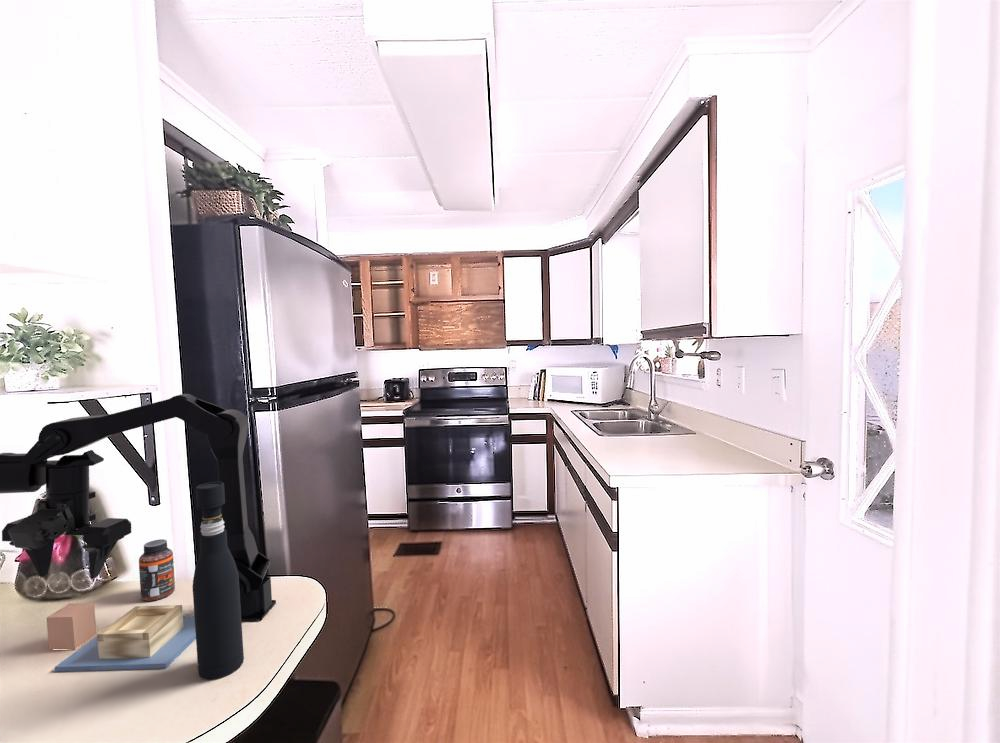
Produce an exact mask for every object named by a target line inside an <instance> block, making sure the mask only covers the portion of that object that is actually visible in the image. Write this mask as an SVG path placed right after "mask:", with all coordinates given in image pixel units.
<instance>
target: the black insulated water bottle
mask: <svg viewBox="0 0 1000 743" xmlns="http://www.w3.org/2000/svg"><path fill="white" fill-rule="evenodd" d="M195 498H196V508H197V509H199V510H202V512H201V513H202V517H201V519H202V520H203V521H201V523H200V527H199V529H200V534H199V536H198V537H199V556H198V558H197V561H196V565H195V568H194V573H193V577H192V578H193V579H192V587H191V588H192V599H193V614H194V615H193V616H194V617H195V631H196V639H195V643H196V655H197V656H196V657H197V658H196V660H197V671H198V677H199V678H201V679H202V680H206V681H212V680H213V681H214V680H217V679H221V678H224V677H226V676H229V675H231V674H233V673H234V672H236V671H237V670H238V669H239V668H240V667H241V666H242V665H243V663H244V661H245V660H244V659H245V657H244V656H245V655H244V640H243V623H242V622H243V621H241V605H240V589H239V574H238V571H237V567H236V564H235V561H234V559H233V556H232V554H231V552H230V550H229V548H228V546H227V531H226V530H225V529H224V527H225V526H224V525H223V524H224V521H223V518H222V514H221V505H223V504H225V493H224V483H223V482H219V481H212V482H211V481H210V482H205V483H201V484H198V485H197V486H196V487H195Z"/></svg>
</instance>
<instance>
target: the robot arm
mask: <svg viewBox="0 0 1000 743" xmlns="http://www.w3.org/2000/svg"><path fill="white" fill-rule="evenodd" d="M175 418H177V419H179V420H181V421H184V422H185V423H186V424H187V425H189V426H191V427H192V428H194V429H195V430H198V431H199V432H202V433H203V434H205V435H206V439H207V442H208V445H209V448H210V451H211V453H212V454H213V456H214V458H215V460H216V463H217V472H218V473H217V475H218V482H223V483H224V493H225V504H223V505H221V506H220V508H221V518H223V521H224V524H223V525H224V526H225V527H224V529H225V530H226V531H227V546H228V548H229V550H230V552H231V554H232V556H233V559H234V561H235V564H236V567H237V571H238V574H239V589H240V605H241V621H242V622H243V621H244V622H247V621H248V622H250V621H251V622H253V621H261V620H263V619H264V618H265V617H266V616H267V614H268V613H269V612H270V610H272V608H273V607H274V606H275V605H276V603H277V600H276V599H273V596H272V579H271V576H267V575H266V574H267V572H268V571H269V568H270V564H271V559H270V558H269V557H267V556H265V555H264V554H263V553H261V552H259V550H258V545H257V542H256V538H255V536H254V534H253V532H252V530H251V529H250V527H249V522H248V510H247V498H246V497H247V496H246V486H245V485H246V484H245V473H244V460H243V456H244V451H245V447H246V446H245V445H246V443H247V442H246V441H247V435H248V428H249V427H248V426H249V420H248V417H247V416H246V414H244V413H243V412H242V411H240V410H238V409H232V408H231V409H226V408H224V407H221V406H220V405H216V404H214V403H211V402H208V401H205V400H203V399H200V398H198V397H196V396H194V395H193V394H189V393H181V394H177V395H174V396H171V397H170V398H168V399H164V400H160V401H155V402H152V403H149V404H145V405H141V406H137V407H134V408H133V407H132V408H129V409H125V410H123V411H118V412H114V413H110V414H98V415H85V416H78V417H71V418H68V419H63V420H59V421H53V422H50V423H48V424H45V426H43V427H42V428H41V430H40V432H39V433H38V438H37V439H38V440H37V441H36V442H35V443H34V444H33V445H32V447H31V448H30V449H29V450H28V451H27V452H26V453H24V452H23V453H16V452H15V453H14V452H1V453H0V494H20V493H21V494H22V493H34V492H38V491H40V489H42V488H41V487H43V486H45V498H42V499H40V500H38V503H37V509H36V512H33V513H32V514H29V515H28V516H25V517H23V518H19V519H17V520H14V521H12V522H8V523H6V525H5V526H4V527H3V529H1V530H2V531H1V542H9V545H10V546H14V547H15V548H17V549H21V550H24V551H25V552H26V554H27V556H28V557H29V559H30V561H31V562H32V564H33V567H34V568H35V570H36V572H37V574H38V576H39V577H40V578H41V577H42V578H43V577H46V576H47V575H48V574H49V570H50V569H51V568H50V566H51V562H52V557H53V552H54V546H55V541H56V539H58V538H60V537H61V536H63V535H65V536H82V541H84V543H85V545H83V546H82V549H84V550H85V551H86V552H88V571H89V576H90V580H94V579H96V578H97V577H99V575H100V573H101V571H102V569H103V566H104V565H105V563H106V561H107V560H108V557H109V556H110V554H111V552H112V550H113V549H114V547H115V546H116V544H117V543H118V542H119V541H120V540H122V539H124V538H125V536H128V535H130V534H132V522H131V521H130V520H129V519H128V518H118V517H108V518H106V519H103V520H101V521H98V522H95V523H90V522H93V521H95V520H96V517H97V515H96V513H90V500H91V499H94V498H96V491H90V467H91V466H92V467H93V466H95V465H98V464H100V463H102V462H104V460H105V459H104V457H102V456H101V455H99V454H97V453H96V452H95V451H94V450H93V449H89V450H88V451H87V450H86V451H85V452H83V453H82V454H70V453H73V452H75V451H77V450H82V449H83V448H87V447H88V446H91V445H93V444H96V443H98V442H100V441H102V440H104V439H107V438H108V437H110V436H113V435H116V434H119V433H124V432H126V431H131V430H134V429H138V428H141V427H144V426H149V425H153V424H156V423H160V422H163V421H167V420H171V419H175ZM58 456H61V457H60V458H59V459H58V460H57V459H55V460H54V459H53V460H48V459H50V458H53V457H58Z"/></svg>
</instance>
